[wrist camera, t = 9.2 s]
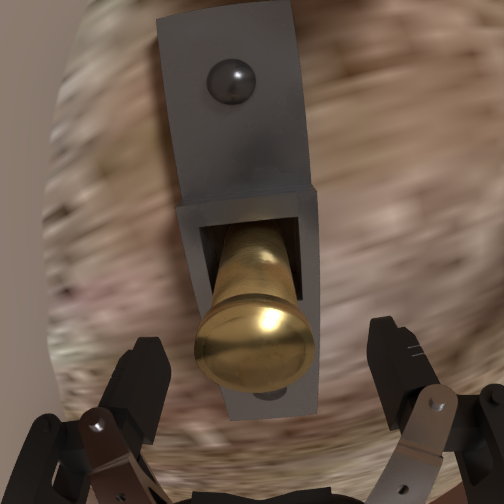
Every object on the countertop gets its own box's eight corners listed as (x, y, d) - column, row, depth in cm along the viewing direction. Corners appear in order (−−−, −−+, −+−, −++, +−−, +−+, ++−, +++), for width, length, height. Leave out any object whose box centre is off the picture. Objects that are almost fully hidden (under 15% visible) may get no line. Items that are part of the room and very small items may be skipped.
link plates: (287, 8, 13) (295, -15, 10) (312, 385, 25) (317, 419, 22) (164, 26, 14) (142, 8, 10) (232, 392, 26) (230, 426, 22)
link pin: (285, 204, 18) (315, 300, 9) (290, 266, 20) (314, 387, 11) (215, 212, 19) (181, 312, 10) (226, 273, 21) (207, 395, 11)
